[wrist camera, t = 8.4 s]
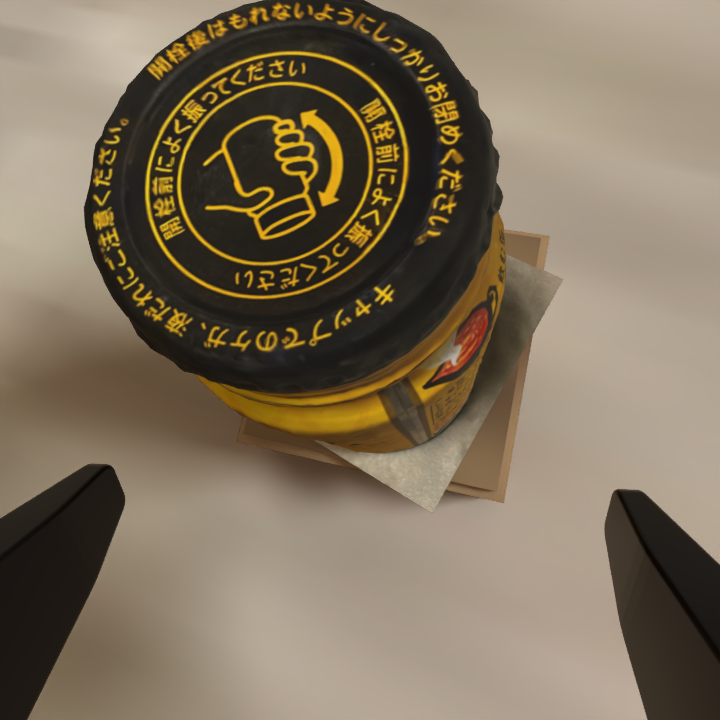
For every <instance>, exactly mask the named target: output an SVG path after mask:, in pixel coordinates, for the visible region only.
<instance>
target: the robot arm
mask: <svg viewBox="0 0 720 720" xmlns="http://www.w3.org/2000/svg"><path fill="white" fill-rule="evenodd" d="M124 505H125V495H124V492H123V489H122V487H121V485H120V482H119V480H118V477H117V475H116V473H115V470H114V468H113V467H112V466H110V465H108V464H88V465H86V466H84V467H82V468H81V469H79V470H78V471H76V472H74V473H73V474H71V475H70V476H68V477H66V478H65V479H63V480H61V481H60V482H58V483H57V484H55V485H53V486H52V487H50V488H49V489H47V490H45V491H44V492H42V493H41V494H39V495H37V496H36V497H34V498H32V499H31V500H29V501H28V502H26V503H24V504H23V505H21V506H20V507H18V508H16V509H15V510H13V511H12V512H10V513H8V514H7V515H5V516H3V517H2V518H0V720H27V719H28V717H29V715H30V713H31V711H32V709H33V707H34V705H35V703H36V701H37V699H38V697H39V695H40V693H41V691H42V689H43V687H44V685H45V683H46V681H47V679H48V677H49V675H50V673H51V671H52V669H53V667H54V665H55V663H56V661H57V659H58V657H59V655H60V653H61V651H62V649H63V647H64V645H65V643H66V641H67V639H68V637H69V635H70V633H71V631H72V629H73V627H74V625H75V623H76V621H77V619H78V617H79V615H80V613H81V611H82V609H83V607H84V605H85V602H86V600H87V598H88V596H89V594H90V592H91V590H92V588H93V586H94V584H95V582H96V579H97V577H98V574H99V572H100V570H101V567H102V564H103V562H104V559H105V556H106V554H107V551H108V548H109V546H110V543H111V541H112V538H113V535H114V533H115V530H116V527H117V525H118V522H119V519H120V517H121V514H122V512H123V509H124ZM605 540H606V545H607V551H608V557H609V563H610V569H611V575H612V580H613V586H614V592H615V598H616V604H617V610H618V615H619V620H620V625H621V629H622V633H623V637H624V641H625V644H626V647H627V651H628V654H629V658H630V661H631V665H632V668H633V671H634V675H635V678H636V682H637V685H638V689H639V692H640V695H641V699H642V702H643V706H644V709H645V712H646V716H647V719H648V720H720V564H719V563H718V562H717V561H716V560H714V559H713V558H712V557H711V556H710V555H709V554H708V553H707V552H706V551H705V550H704V549H703V548H702V547H701V546H700V545H699V544H698V543H697V542H696V541H694V540H693V539H692V538H691V537H690V536H689V535H688V534H687V533H686V532H685V531H684V530H683V529H682V528H681V527H680V526H679V525H678V524H677V523H676V522H675V521H673V520H672V519H671V518H670V517H669V516H668V515H667V514H666V513H665V512H664V511H663V510H662V509H661V508H660V507H659V506H658V505H657V504H656V503H655V502H653V501H652V500H651V499H650V498H649V497H648V496H647V495H646V494H645V493H644V492H642V491H640V490H627V489H617V490H615V491H614V492H613V494H612V497H611V501H610V505H609V509H608V513H607V517H606V520H605Z"/></svg>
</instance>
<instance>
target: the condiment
mask: <svg viewBox="0 0 720 720" xmlns="http://www.w3.org/2000/svg"><path fill="white" fill-rule="evenodd" d="M492 134H493V131H492V129H491V124H490V120H489V119H488V117H487V116H486V115H485V113H484V112H483V111H482V110H481V109H480V106H479V100H478V92H477V90H476V89H475V88H474V87H473V86H471V84H470V82H469V80H467V79H465V77H464V76H463V75H462V74H461V72H460V71H459V70H458V68H457V67H456V65H455V63H454V62H453V61H452V59H451V58H450V56H449V55H448V53H447V52H446V50H445V49H444V47H443V46H442V44H441V43H440V42H439V41H438V40H437V39H436V38H435V37H434V36H433V35H432V34H431V33H429V32H427V31H426V30H424V29H422V28H421V27H419V26H417V25H415V24H414V23H412V22H410V21H408V20H407V19H405V18H403V17H401V16H400V15H398V14H395V13H392V12H388V11H384V10H382V9H380V8H378V7H376V6H374V5H372V4H370V3H369V2H367V1H365V0H263V1H259V2H255V3H250V4H245V5H242V6H240V7H238V8H236V9H233V10H230V11H228V12H224V13H221V14H219V15H217V16H216V17H214V18H213V19H210V20H206V21H203V22H202V23H201V24H199V25H198V26H197V27H196V28H194V29H192V30H190V31H189V32H187V33H186V34H184V35H183V36H181V37H180V38H178V39H177V40H175V41H173V42H172V43H171V44H169V45H168V46H167V47H165V48H164V49H163V50H161V51H160V52H159V53H157V54H156V55H155V56H154V58H153V59H152V60H151V61H150V62H149V63H148V64H147V65H146V66H145V67H144V68H143V69H142V71H141V72H140V73H139V74H138V75H137V76H136V78H135V79H134V80H133V81H132V82H131V83H130V84H129V85H128V86H127V89H126V92H125V93H124V94H123V95H122V96H121V98H120V100H119V102H118V104H117V106H116V108H115V110H114V112H113V113H112V115H111V117H110V118H109V120H108V122H107V123H106V125H105V127H104V130H103V134H102V136H101V137H100V139H99V140H98V141H97V143H96V145H95V150H94V156H93V168H92V174H91V181H90V186H89V190H88V194H87V198H86V202H85V206H84V217H85V228H86V232H87V237H88V241H89V245H90V248H91V252H92V255H93V259H94V261H95V263H96V265H97V267H98V269H99V271H100V273H101V275H102V277H103V280H104V282H105V285H106V287H107V288H108V290H109V292H110V294H111V296H112V297H113V299H114V300H115V302H116V303H117V304H118V306H119V307H120V308H121V310H122V311H123V312H124V314H125V315H126V316H127V317H128V318H129V320H130V322H131V323H132V325H133V327H134V329H135V331H136V333H137V335H138V336H139V337H140V338H141V339H142V340H144V341H145V342H146V344H147V345H148V346H149V347H150V348H151V349H153V350H154V351H156V352H157V353H159V354H161V355H163V356H165V357H167V358H168V359H170V360H171V361H173V362H174V363H175V364H176V365H177V366H178V367H179V368H180V369H182V370H183V371H185V372H190V373H194V374H196V375H197V377H198V378H199V380H200V381H201V382H202V383H203V384H205V385H206V386H207V387H208V388H209V389H210V390H211V391H212V392H213V393H214V394H216V395H217V396H218V397H219V398H220V399H221V400H222V401H223V402H225V403H226V404H227V405H228V406H229V407H230V408H232V409H234V410H235V411H236V412H237V413H239V414H240V415H242V416H244V417H246V418H248V419H250V420H252V421H254V422H257V423H258V424H260V425H262V426H264V427H266V428H268V429H273V430H278V431H281V432H283V433H286V434H289V435H291V436H295V437H301V438H307V439H313V440H314V441H316V442H318V443H319V444H321V445H323V446H324V447H326V448H327V449H329V450H331V451H332V452H334V453H336V454H337V455H339V456H340V457H342V458H344V459H345V460H347V461H349V462H350V463H352V464H353V465H355V466H357V467H358V468H360V469H361V470H363V471H365V472H366V473H368V474H370V475H371V476H373V477H374V478H376V479H378V480H379V481H381V482H382V483H384V484H386V485H388V486H389V487H391V488H392V489H394V490H395V491H397V492H399V493H400V494H402V495H403V496H405V497H407V498H408V499H410V500H411V501H413V502H415V503H416V504H418V505H420V506H421V507H423V508H424V509H426V510H428V511H429V512H431V513H433V511H434V509H435V508H436V506H437V504H438V502H439V500H440V499H441V497H442V495H443V493H444V491H445V490H446V488H447V486H448V484H449V483H450V481H451V479H452V477H453V475H454V474H455V472H456V470H457V468H458V466H459V465H460V463H461V461H462V459H463V457H464V456H465V454H466V452H467V450H468V448H469V447H470V445H471V443H472V441H473V440H474V438H475V436H476V434H477V432H478V431H479V429H480V427H481V426H482V424H483V422H484V420H485V418H486V416H487V415H488V413H489V411H490V409H491V407H492V406H493V404H494V402H495V400H496V399H497V397H498V395H499V393H500V392H501V390H502V388H503V386H504V384H505V383H506V381H507V379H508V377H509V376H510V374H511V372H512V370H513V368H514V366H515V364H516V363H517V361H518V359H519V358H520V356H521V354H522V352H523V351H524V349H525V347H526V345H527V343H528V342H529V340H530V338H531V336H532V335H533V333H534V331H535V329H536V327H537V325H538V324H539V322H540V320H541V318H542V317H543V315H544V313H545V311H546V309H547V308H548V306H549V304H550V302H551V301H552V299H553V297H554V295H555V293H556V292H557V290H558V288H559V286H560V285H561V283H562V281H563V279H562V278H559V277H557V276H555V275H552V274H550V273H548V272H546V271H544V270H541V269H538V268H535V267H533V266H530V265H529V264H527V263H525V262H522V261H520V260H518V259H515V258H513V257H511V256H509V255H507V254H506V247H505V236H504V226H503V222H502V220H501V217H500V215H499V212H498V210H499V209H500V206H501V203H502V199H503V195H502V191H501V189H500V187H499V185H498V184H497V183H496V177H497V173H498V168H499V157H500V156H499V154H498V151H497V149H495V147H494V146H493V143H492Z"/></svg>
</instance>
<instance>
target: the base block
mask: <svg viewBox="0 0 720 720" xmlns="http://www.w3.org/2000/svg"><path fill="white" fill-rule="evenodd" d="M504 236H505V247H506V254H507V255H509V256H511V257H513V258H515V259H518V260H520V261H522V262H525V263H527V264H529V265H530V266H533V267H535V268H538V269H541V270H544V266H545V260H546V254H547V248H548V242H549V236H546V235H539V234H532V233H525V232H518V231H511V230H504ZM532 336H533V335H532ZM532 336H531V338H530V340H529V342H528V343H527V345H526V347H525V349H524V351H523V352H522V354H521V356H520V358H519V359H518V361H517V363H516V364H515V366H514V368H513V370H512V372H511V374H510V376H509V377H508V379H507V381H506V383H505V384H504V386H503V388H502V390H501V392H500V393H499V395H498V397H497V399H496V400H495V402H494V404H493V406H492V407H491V409H490V411H489V413H488V415H487V416H486V418H485V420H484V422H483V424H482V426H481V427H480V429H479V431H478V432H477V434H476V436H475V438H474V440H473V441H472V443H471V445H470V447H469V448H468V450H467V452H466V454H465V456H464V457H463V459H462V461H461V463H460V465H459V466H458V468H457V470H456V472H455V474H454V475H453V477H452V479H451V481H450V483H449V484H448V486H447V488H446V490H449V491H453V492H457V493H462V494H466V495H470V496H475V497H479V498H483V499H488V500H492V501H496V502H501V503H504V499H505V493H506V487H507V481H508V476H509V470H510V464H511V458H512V452H513V446H514V441H515V435H516V429H517V423H518V417H519V411H520V406H521V400H522V394H523V388H524V382H525V376H526V371H527V365H528V359H529V353H530V347H531V341H532ZM237 442H240V443H244V444H249V445H253V446H257V447H262V448H266V449H270V450H275V451H279V452H283V453H288V454H292V455H296V456H301V457H305V458H309V459H314V460H318V461H322V462H327V463H331V464H336V465H340V466H344V467H349V468H353V469H357V470H361V469H360V468H358V467H357V466H355V465H353V464H352V463H350V462H349V461H347V460H345V459H344V458H342V457H340V456H339V455H337V454H336V453H334V452H332V451H331V450H329V449H327V448H326V447H324V446H323V445H321V444H319V443H318V442H316V441H314V440H313V439H307V438H301V437H295V436H291V435H289V434H286V433H283V432H281V431H278V430H273V429H268V428H266V427H264V426H262V425H260V424H258V423H257V422H254V421H252V420H250V419H248V418H246V417H244V416H243V418H242V422H241V426H240V430H239V434H238V438H237ZM362 471H363V470H362Z"/></svg>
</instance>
